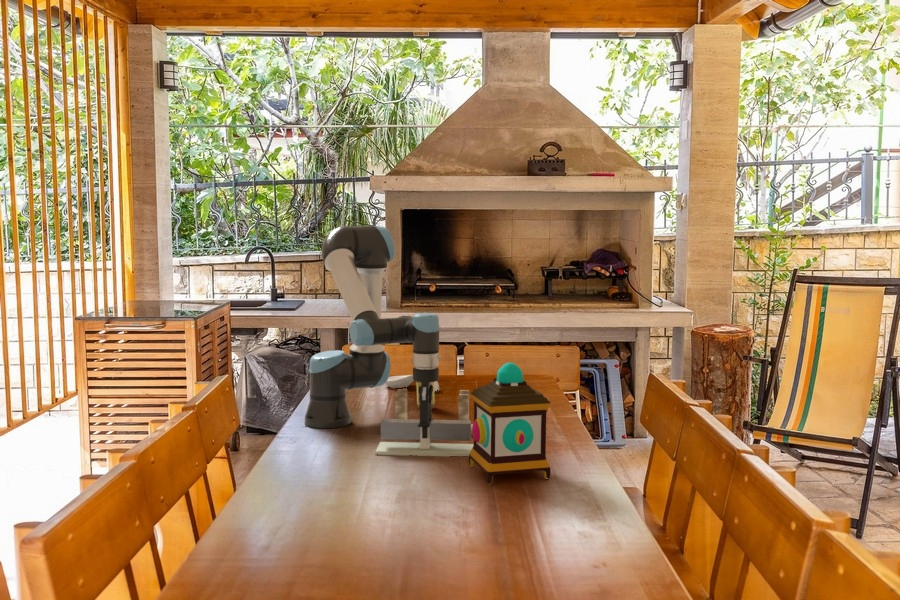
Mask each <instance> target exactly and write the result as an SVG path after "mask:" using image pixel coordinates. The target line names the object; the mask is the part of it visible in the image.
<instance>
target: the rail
mask: <svg viewBox="0 0 900 600" xmlns="http://www.w3.org/2000/svg"><path fill="white" fill-rule="evenodd" d="M419 423H420V418H419V419H415V418H412V419H411V418H410V419H409V418H407V419H395V418H382V419H381V421H380V439H381V440H406V441H407V440H409V441H413V440H414V441H415V440H416V441H417V440H418V441H420V427H418V425H419ZM429 424H430V425H429V426H430V440H431V441H456V442H458V441H461V442H463V441H464V442H471V439H472V434H471V424H472V420H470V419H469V420H459V419H457V420H456V419H434V420H429Z"/></svg>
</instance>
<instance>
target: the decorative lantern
mask: <svg viewBox="0 0 900 600" xmlns="http://www.w3.org/2000/svg"><path fill="white" fill-rule="evenodd" d="M470 396H471V398H472V401H473V405H474V406H473V409H474V410H473V423H472V424H473V427H472V434H471V435H472V438H473V444H474V446H473V448H472V450H471V452H470V454H469V457H468V465H469V466H470V467H471V468H473V467H474V466H475V465H477V466H478V467H479V468H481V470H483V472H484V473H485V477H486V483H487V485H489V486H491V485H492V483H493V479H494V476H495V475H502V474H516V473H517V474H518V473H526V472H527V473H529V472H541V471H542V472H543V478H544V477H545V478H549V479H550V478H551V467H550V463H549V460H548V459H547V457H546V456H547V455H546V447H547V446H546V445H547V439H546V438H547V412H548V410H549V408H550V406H551V401H550V400H548V397H546V396H544V394H542V392H539V391H537V390H536V389H534V388H533V387H531V386H530V385H529V384H528V383H527V381H525V380H524V374H523V370H522V369H521V368H520V367H519V365H517V364H516V363H514V362H510V361H509V362H506V363H504V364H503V365H502V366H501V367H500V368H499V369H498V370H497V375H496V377H495V378H493V380H492V381H489V383H487V384H485V385H484V386H483V385H481V386H477V388H475V389H473V391H471V392H470ZM545 478H544V479H545ZM490 484H491V485H490Z"/></svg>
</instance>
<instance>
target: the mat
mask: <svg viewBox="0 0 900 600" xmlns="http://www.w3.org/2000/svg"><path fill="white" fill-rule="evenodd" d="M473 446H474V443H441V442H439V443H437V442H431V445H430V449H420V442H403V441H402V442H400V441H399V442H398V441H380V442H379V444H378V445H377V448H376V449H375V452H374V455H375V456H376V455H377V454H378V455H379V456H381V455H382V456H409V455H413V457H414V456H415V455H417V456H419V457H450V456H469V454H470V452H471V450H472V448H473ZM378 455H377V456H378Z"/></svg>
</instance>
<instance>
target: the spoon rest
mask: <svg viewBox="0 0 900 600" xmlns="http://www.w3.org/2000/svg"><path fill="white" fill-rule="evenodd" d="M413 382H415V381H414V380H413V374H410V375H393V376H392V375H391V376H389V378H388V380H387V381H386V382H385V384H384V385H385V386H387V387H388V388H391V387H394V388H393V389H395V388H401V387H406V388H407V387H409V386H410V385H411V384H412V383H413ZM438 382H439V381H435V382H434V393H435V391H436V392H438V391H439V390H440V384H439V383H438ZM437 390H438V391H437Z"/></svg>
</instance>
